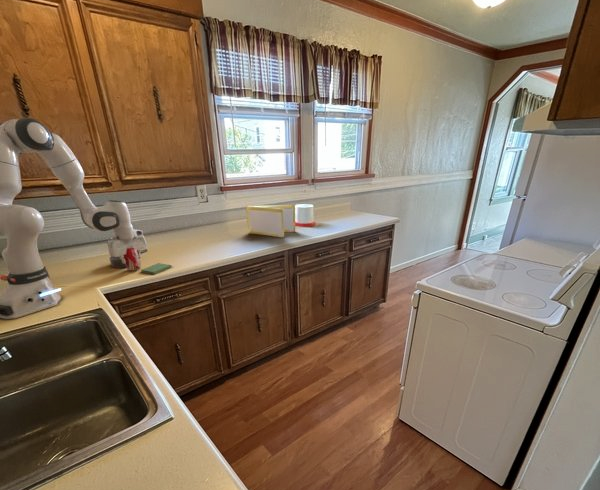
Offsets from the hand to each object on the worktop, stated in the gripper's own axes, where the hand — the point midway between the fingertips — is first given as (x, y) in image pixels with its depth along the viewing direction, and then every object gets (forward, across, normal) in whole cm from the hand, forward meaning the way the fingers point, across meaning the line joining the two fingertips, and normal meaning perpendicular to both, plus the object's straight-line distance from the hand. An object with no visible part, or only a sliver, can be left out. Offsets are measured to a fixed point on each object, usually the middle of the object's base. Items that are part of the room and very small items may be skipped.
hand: (131, 260), depth 169 cm
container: (+5, +137, -39) cm, 142 cm away
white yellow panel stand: (+5, +95, -32) cm, 100 cm away
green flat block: (+5, +5, -11) cm, 13 cm away
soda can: (+5, 0, 0) cm, 5 cm away
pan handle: (+2, +16, +12) cm, 21 cm away
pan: (+5, +5, +12) cm, 14 cm away
